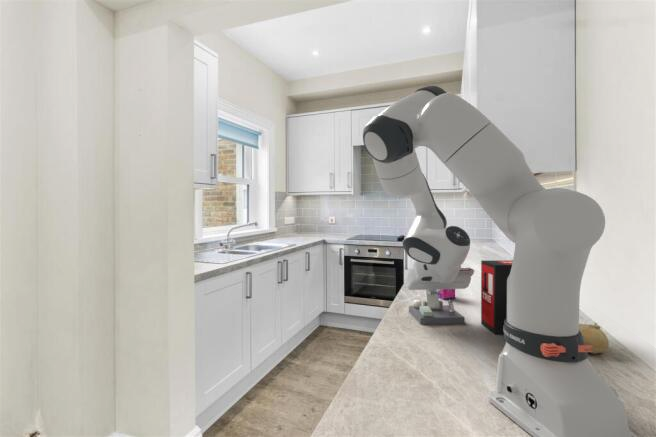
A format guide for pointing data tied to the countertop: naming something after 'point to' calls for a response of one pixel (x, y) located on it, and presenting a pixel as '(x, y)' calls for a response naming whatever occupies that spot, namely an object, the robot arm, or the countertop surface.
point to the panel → (437, 315)
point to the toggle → (451, 307)
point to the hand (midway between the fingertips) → (432, 292)
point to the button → (417, 303)
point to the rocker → (425, 311)
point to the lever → (432, 300)
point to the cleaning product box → (494, 294)
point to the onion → (594, 338)
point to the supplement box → (447, 294)
